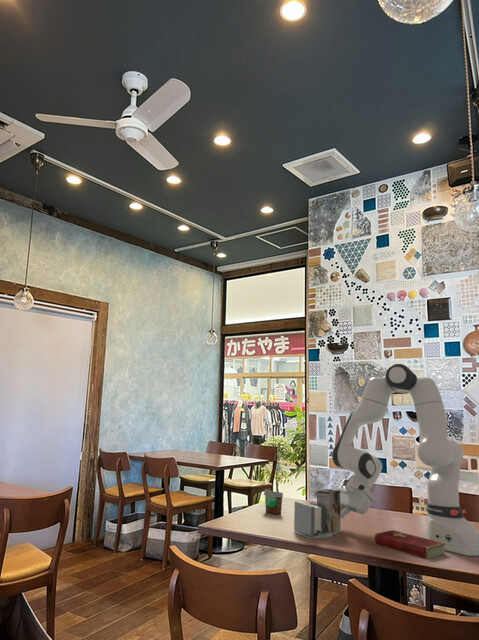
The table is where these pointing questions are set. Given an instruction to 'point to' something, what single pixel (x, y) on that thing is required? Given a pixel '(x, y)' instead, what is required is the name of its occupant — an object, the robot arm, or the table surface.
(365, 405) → the robot arm
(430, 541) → the hardcover book
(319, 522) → the block
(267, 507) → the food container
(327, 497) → the coffee box
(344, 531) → the table surface
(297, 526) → the gauge housing
